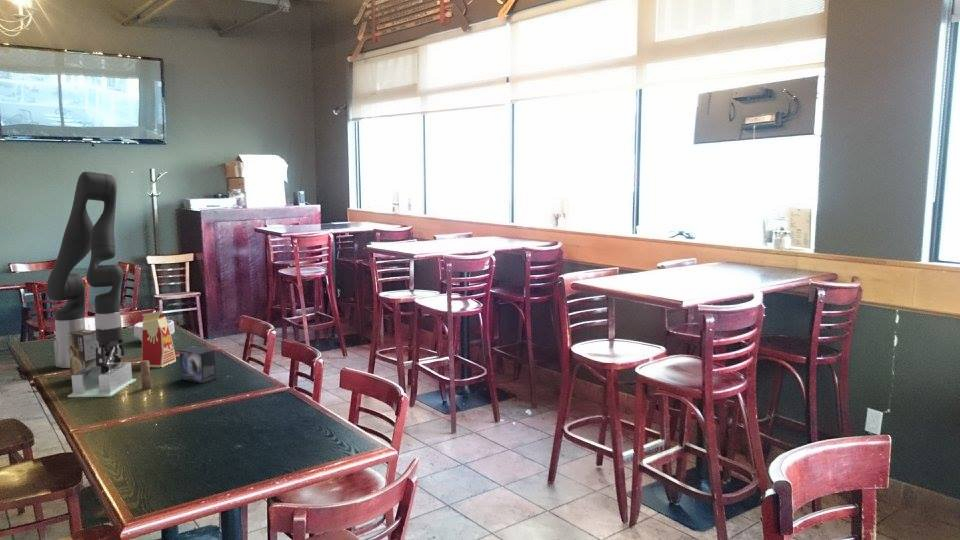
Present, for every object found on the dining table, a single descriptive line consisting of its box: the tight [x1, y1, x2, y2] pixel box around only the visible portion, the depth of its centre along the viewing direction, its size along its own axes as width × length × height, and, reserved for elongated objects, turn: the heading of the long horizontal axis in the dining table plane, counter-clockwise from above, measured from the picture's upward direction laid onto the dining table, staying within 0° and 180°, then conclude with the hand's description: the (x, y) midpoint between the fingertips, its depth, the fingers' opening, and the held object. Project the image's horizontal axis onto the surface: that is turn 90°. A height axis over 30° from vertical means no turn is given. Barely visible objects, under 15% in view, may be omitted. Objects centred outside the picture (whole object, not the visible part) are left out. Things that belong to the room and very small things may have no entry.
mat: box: [67, 378, 137, 398], centre depth 226 cm, size 13×18×1 cm
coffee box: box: [67, 328, 101, 380], centre depth 236 cm, size 9×6×16 cm
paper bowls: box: [133, 319, 175, 343], centre depth 291 cm, size 15×15×8 cm
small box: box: [178, 345, 218, 384], centre depth 235 cm, size 11×6×10 cm, turn 62°
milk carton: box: [141, 309, 177, 368], centre depth 254 cm, size 9×9×20 cm
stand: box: [139, 360, 152, 391], centre depth 225 cm, size 3×3×9 cm
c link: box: [71, 361, 133, 394], centre depth 225 cm, size 15×11×6 cm
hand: (111, 373), depth 232 cm, fingers open, 8 cm apart
